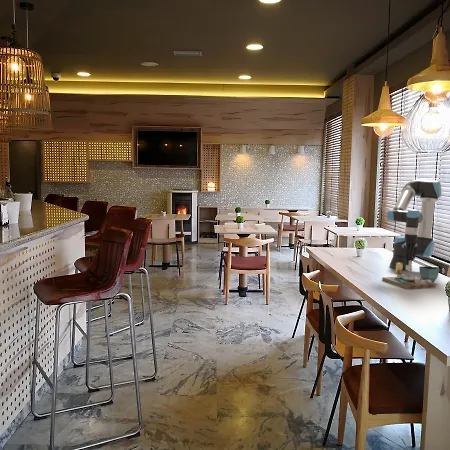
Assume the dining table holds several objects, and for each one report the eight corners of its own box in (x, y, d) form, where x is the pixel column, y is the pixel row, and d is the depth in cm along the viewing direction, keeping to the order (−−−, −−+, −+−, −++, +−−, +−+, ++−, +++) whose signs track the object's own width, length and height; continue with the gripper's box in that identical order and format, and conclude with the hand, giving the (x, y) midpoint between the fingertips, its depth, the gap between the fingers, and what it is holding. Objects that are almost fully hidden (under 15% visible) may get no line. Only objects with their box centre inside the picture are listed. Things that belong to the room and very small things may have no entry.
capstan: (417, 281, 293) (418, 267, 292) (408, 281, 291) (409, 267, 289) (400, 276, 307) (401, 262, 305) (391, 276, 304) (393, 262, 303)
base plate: (409, 278, 310) (409, 273, 309) (435, 287, 289) (436, 281, 289) (382, 280, 301) (382, 275, 301) (407, 289, 281) (408, 283, 281)
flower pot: (417, 279, 308) (418, 266, 307) (428, 279, 311) (429, 265, 310) (427, 283, 300) (429, 269, 299) (438, 282, 303) (439, 268, 302)
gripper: (407, 234, 297) (404, 271, 300) (423, 234, 302) (420, 270, 305) (399, 233, 304) (395, 269, 307) (414, 232, 309) (411, 268, 312)
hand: (407, 270), depth 306 cm, fingers closed
